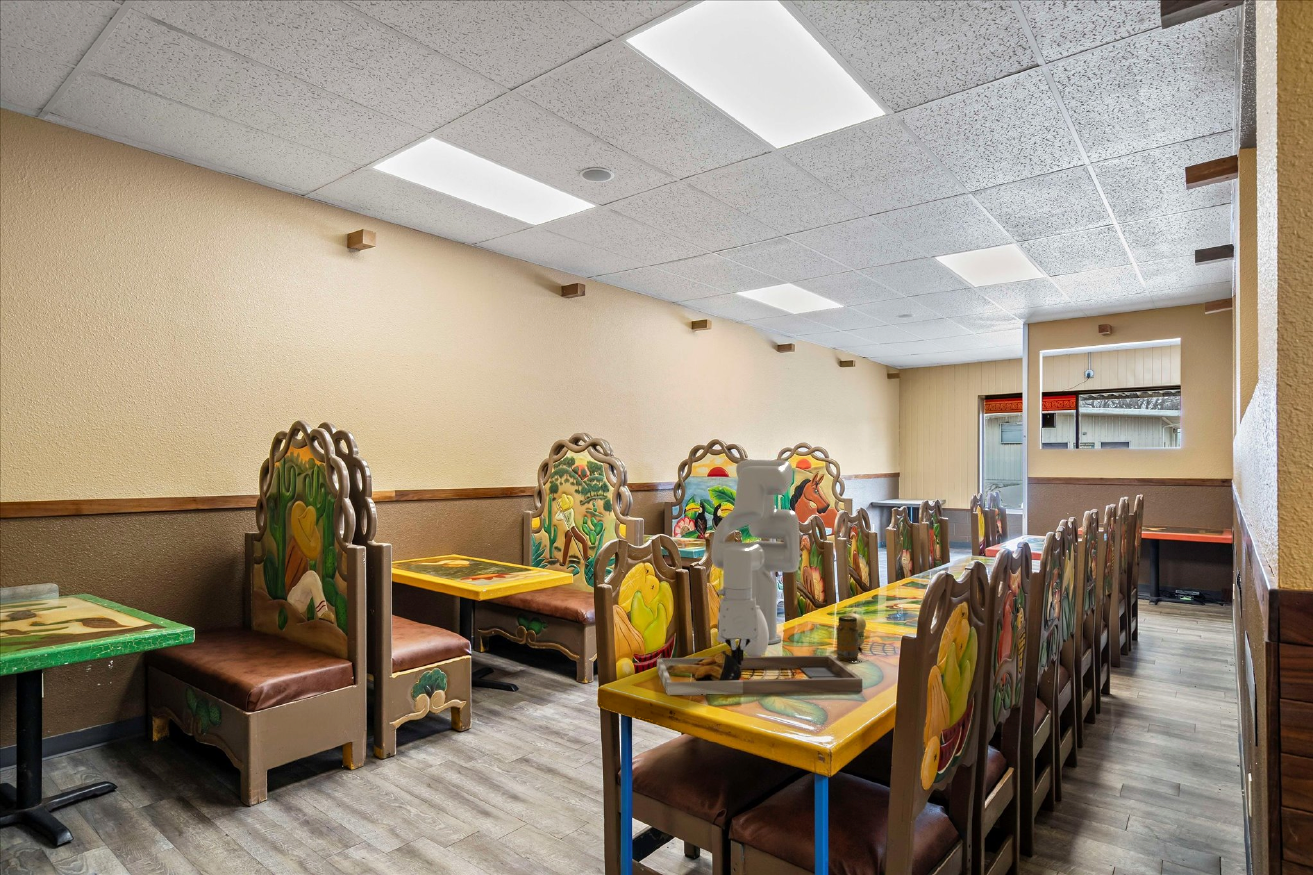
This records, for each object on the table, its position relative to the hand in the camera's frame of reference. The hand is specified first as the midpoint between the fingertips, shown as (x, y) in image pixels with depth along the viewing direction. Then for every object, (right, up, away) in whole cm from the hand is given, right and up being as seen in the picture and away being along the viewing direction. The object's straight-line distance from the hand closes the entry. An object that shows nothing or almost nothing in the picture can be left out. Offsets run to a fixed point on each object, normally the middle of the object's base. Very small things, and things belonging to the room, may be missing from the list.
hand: (737, 663), depth 189 cm
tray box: (+5, -4, 0) cm, 6 cm away
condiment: (+35, -6, +22) cm, 42 cm away
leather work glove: (-9, -4, -3) cm, 10 cm away
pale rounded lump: (+40, -6, +34) cm, 53 cm away
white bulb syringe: (+7, -5, +20) cm, 22 cm away
